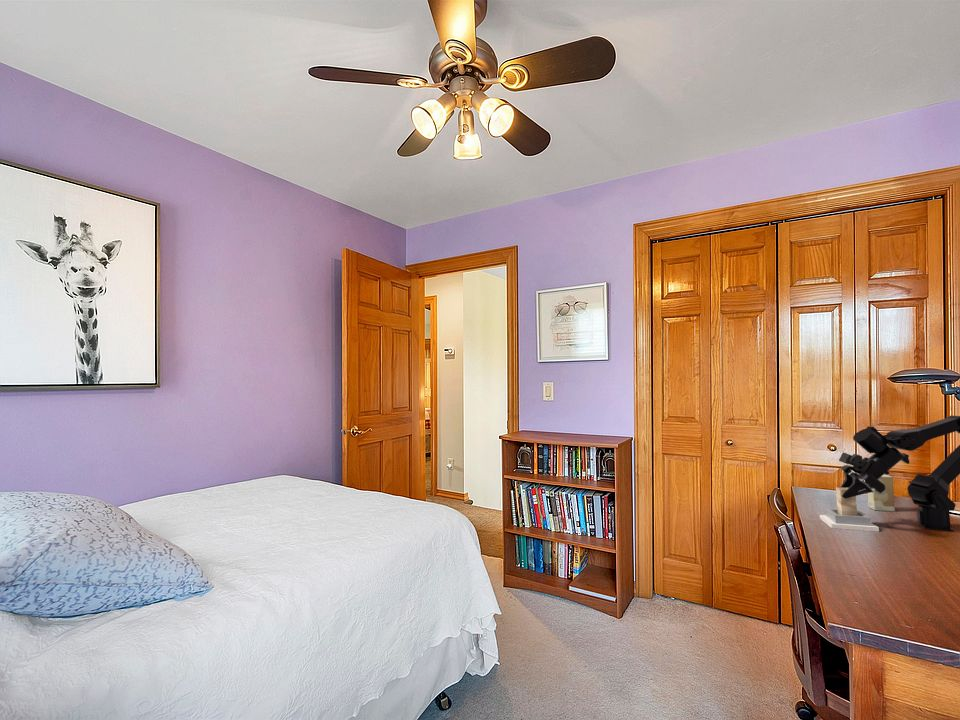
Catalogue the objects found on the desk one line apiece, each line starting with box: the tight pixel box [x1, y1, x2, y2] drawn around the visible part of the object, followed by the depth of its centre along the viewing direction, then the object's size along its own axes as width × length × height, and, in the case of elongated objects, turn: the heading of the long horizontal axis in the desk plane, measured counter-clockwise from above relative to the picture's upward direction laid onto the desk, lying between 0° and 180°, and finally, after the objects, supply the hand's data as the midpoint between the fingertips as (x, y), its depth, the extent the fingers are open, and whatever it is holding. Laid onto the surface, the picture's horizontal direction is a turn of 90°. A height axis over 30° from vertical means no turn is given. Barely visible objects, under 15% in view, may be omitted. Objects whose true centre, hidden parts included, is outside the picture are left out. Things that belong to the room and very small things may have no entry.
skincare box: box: [867, 474, 896, 512], centre depth 165 cm, size 6×4×12 cm
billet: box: [835, 486, 858, 516], centre depth 149 cm, size 4×4×9 cm
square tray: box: [819, 508, 880, 532], centre depth 148 cm, size 12×12×4 cm
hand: (840, 495), depth 149 cm, fingers closed on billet, 4 cm apart
